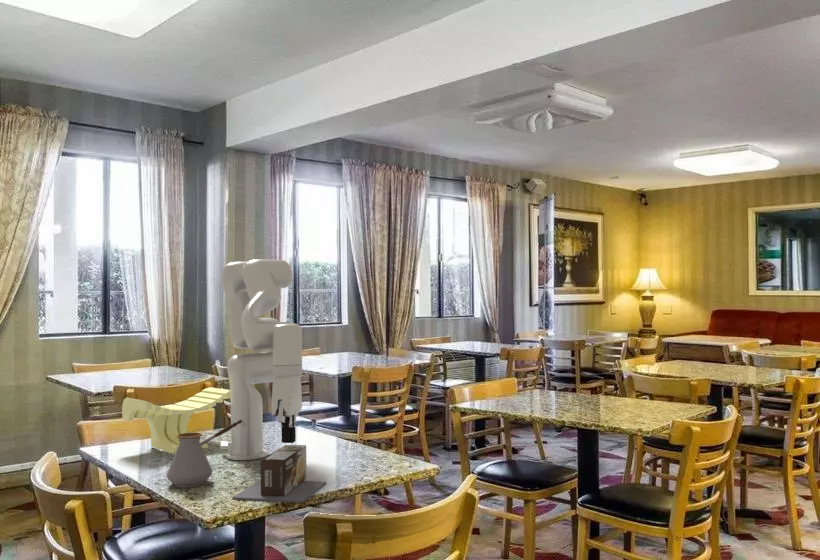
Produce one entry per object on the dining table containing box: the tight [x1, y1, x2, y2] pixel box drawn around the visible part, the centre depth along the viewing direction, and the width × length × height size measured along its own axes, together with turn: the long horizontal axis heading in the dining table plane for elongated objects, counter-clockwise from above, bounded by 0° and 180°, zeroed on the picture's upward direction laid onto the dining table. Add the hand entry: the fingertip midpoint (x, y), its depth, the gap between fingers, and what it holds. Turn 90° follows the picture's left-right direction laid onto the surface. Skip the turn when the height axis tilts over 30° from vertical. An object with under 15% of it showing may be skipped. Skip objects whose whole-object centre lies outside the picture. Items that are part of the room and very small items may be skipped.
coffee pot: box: [166, 420, 245, 488], centre depth 185 cm, size 21×12×15 cm, turn 129°
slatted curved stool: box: [121, 386, 231, 455], centre depth 228 cm, size 30×16×18 cm, turn 138°
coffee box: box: [260, 444, 307, 496], centre depth 175 cm, size 9×6×16 cm
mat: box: [231, 479, 327, 504], centre depth 173 cm, size 18×17×1 cm
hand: (288, 442), depth 178 cm, fingers closed
